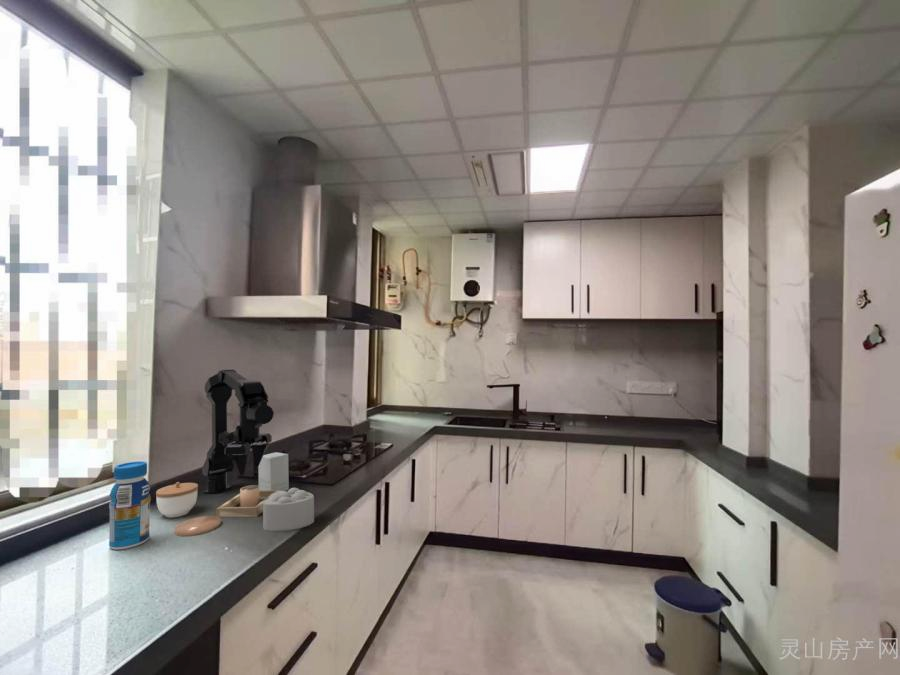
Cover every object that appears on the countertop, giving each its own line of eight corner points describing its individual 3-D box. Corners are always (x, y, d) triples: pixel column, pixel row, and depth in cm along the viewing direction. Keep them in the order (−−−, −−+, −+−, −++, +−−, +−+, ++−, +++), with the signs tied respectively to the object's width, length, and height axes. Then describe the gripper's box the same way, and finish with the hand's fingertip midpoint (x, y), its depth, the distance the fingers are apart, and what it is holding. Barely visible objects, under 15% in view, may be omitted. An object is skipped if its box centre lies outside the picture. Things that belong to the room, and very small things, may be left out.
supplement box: (289, 489, 144) (289, 453, 145) (270, 496, 138) (270, 458, 139) (276, 486, 148) (276, 451, 149) (257, 492, 142) (257, 456, 143)
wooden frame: (243, 498, 136) (243, 490, 136) (279, 497, 136) (279, 490, 136) (216, 517, 120) (216, 508, 120) (256, 516, 120) (256, 507, 120)
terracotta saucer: (191, 519, 119) (191, 516, 119) (228, 519, 119) (228, 515, 119) (164, 536, 108) (164, 532, 108) (206, 535, 108) (206, 531, 108)
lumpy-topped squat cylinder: (274, 516, 120) (274, 486, 120) (318, 514, 121) (318, 485, 121) (259, 531, 110) (259, 499, 110) (308, 529, 110) (307, 497, 111)
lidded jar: (148, 517, 122) (148, 485, 122) (185, 505, 131) (185, 475, 131) (168, 523, 117) (168, 490, 117) (205, 510, 126) (205, 479, 126)
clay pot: (245, 504, 131) (245, 484, 131) (262, 503, 131) (262, 484, 131) (236, 510, 125) (236, 490, 126) (254, 510, 125) (254, 490, 126)
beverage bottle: (100, 547, 102) (101, 467, 103) (136, 534, 110) (138, 459, 111) (121, 553, 99) (123, 470, 100) (157, 538, 107) (158, 461, 107)
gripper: (239, 417, 139) (239, 463, 138) (206, 426, 120) (206, 480, 119) (272, 416, 139) (272, 462, 138) (244, 426, 120) (244, 479, 119)
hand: (249, 470), depth 129 cm, fingers open, 9 cm apart
